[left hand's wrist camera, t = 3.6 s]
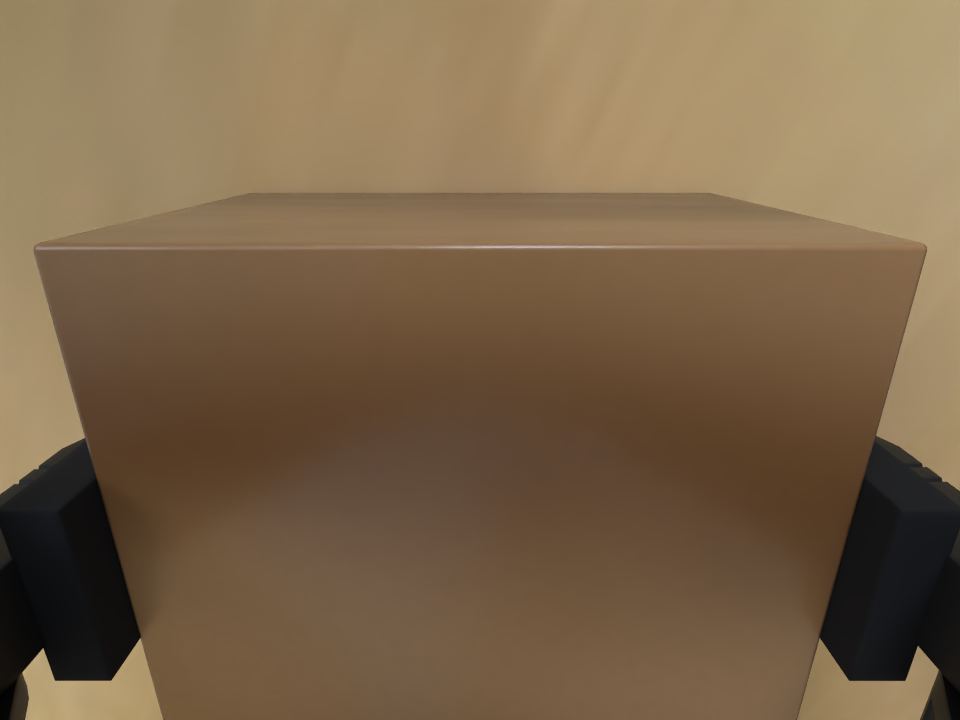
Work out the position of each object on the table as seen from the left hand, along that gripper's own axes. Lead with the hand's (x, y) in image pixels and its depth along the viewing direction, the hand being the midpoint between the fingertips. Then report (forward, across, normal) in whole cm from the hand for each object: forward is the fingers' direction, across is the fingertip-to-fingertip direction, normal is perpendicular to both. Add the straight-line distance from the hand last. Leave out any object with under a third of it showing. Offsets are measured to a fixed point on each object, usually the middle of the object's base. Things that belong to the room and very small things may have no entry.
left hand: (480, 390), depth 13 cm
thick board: (0, 0, -21) cm, 21 cm away
